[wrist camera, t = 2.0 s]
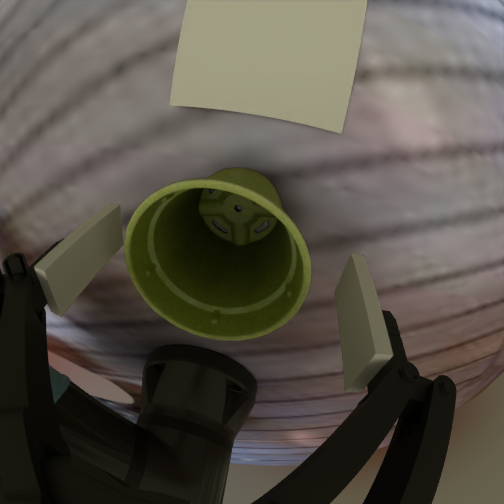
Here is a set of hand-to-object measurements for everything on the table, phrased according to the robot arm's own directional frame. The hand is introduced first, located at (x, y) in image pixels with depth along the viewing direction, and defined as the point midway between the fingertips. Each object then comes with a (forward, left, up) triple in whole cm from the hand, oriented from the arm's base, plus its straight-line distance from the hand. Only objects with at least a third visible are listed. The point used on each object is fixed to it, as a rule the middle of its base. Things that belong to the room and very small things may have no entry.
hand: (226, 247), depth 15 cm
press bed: (+13, 0, -6) cm, 14 cm away
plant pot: (0, 0, -7) cm, 7 cm away
